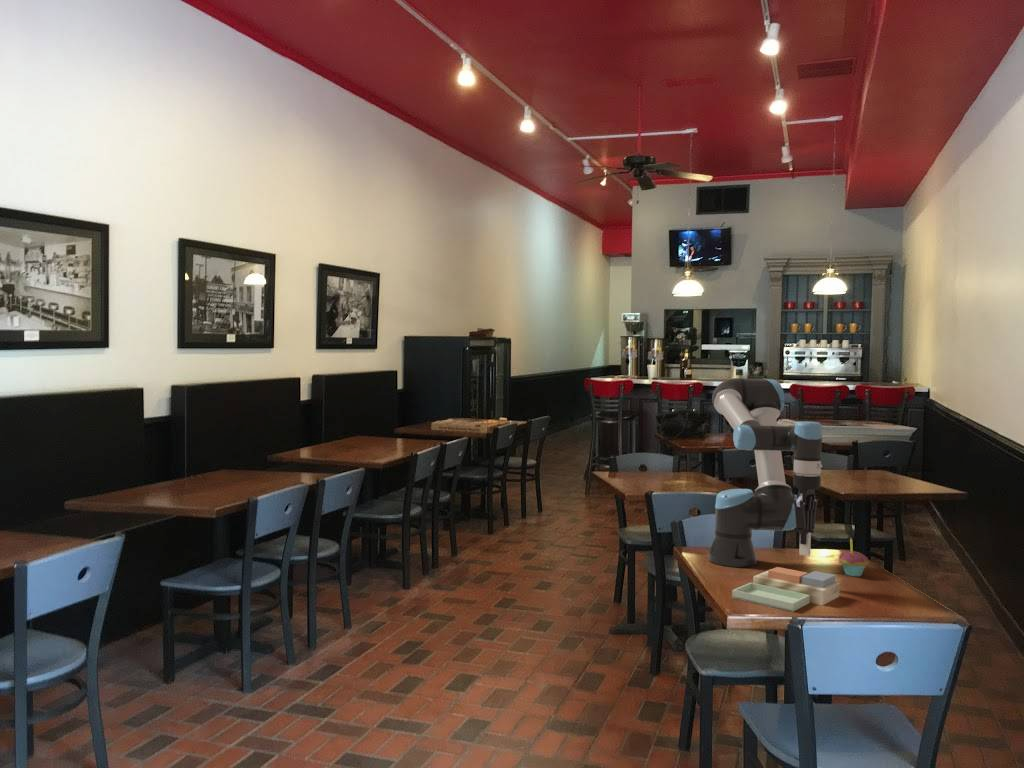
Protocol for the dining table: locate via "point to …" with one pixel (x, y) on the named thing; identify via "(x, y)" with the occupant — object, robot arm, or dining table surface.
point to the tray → (771, 596)
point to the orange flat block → (786, 574)
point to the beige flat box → (801, 588)
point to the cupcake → (853, 562)
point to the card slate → (818, 579)
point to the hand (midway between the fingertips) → (804, 554)
